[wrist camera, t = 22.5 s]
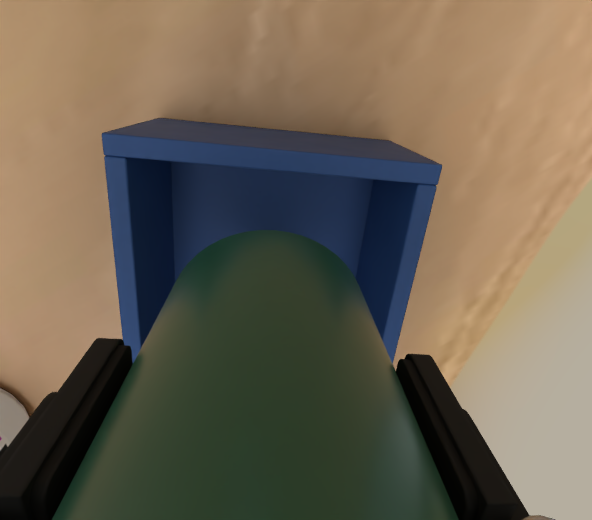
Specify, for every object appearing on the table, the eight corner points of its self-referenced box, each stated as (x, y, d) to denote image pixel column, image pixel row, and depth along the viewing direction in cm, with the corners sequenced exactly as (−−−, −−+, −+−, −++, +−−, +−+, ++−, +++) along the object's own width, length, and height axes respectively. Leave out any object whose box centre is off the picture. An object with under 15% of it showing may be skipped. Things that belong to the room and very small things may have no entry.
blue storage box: (158, 117, 20) (100, 132, 14) (390, 140, 21) (443, 165, 15) (170, 390, 28) (137, 485, 21) (341, 396, 29) (361, 489, 22)
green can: (164, 220, 11) (-424, 918, 2) (380, 237, 12) (808, 838, 2) (171, 391, 14) (-53, 1045, 4) (348, 398, 15) (488, 995, 5)
